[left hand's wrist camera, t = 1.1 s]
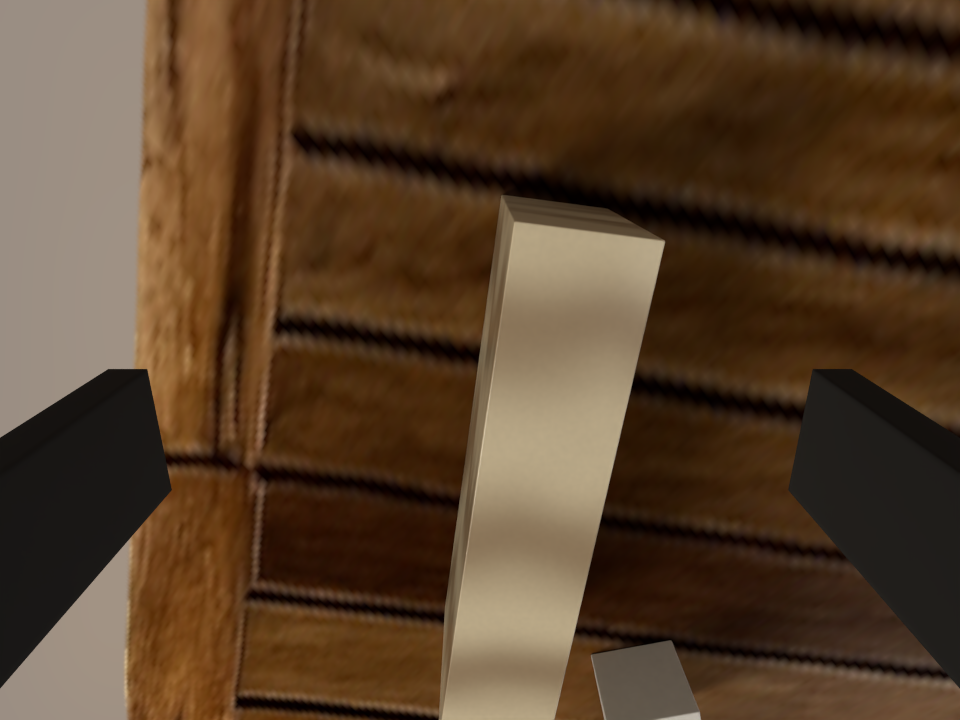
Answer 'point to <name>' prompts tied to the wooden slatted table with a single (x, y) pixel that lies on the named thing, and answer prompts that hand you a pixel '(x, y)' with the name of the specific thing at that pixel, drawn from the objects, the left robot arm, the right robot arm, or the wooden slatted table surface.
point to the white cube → (644, 684)
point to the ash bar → (540, 449)
